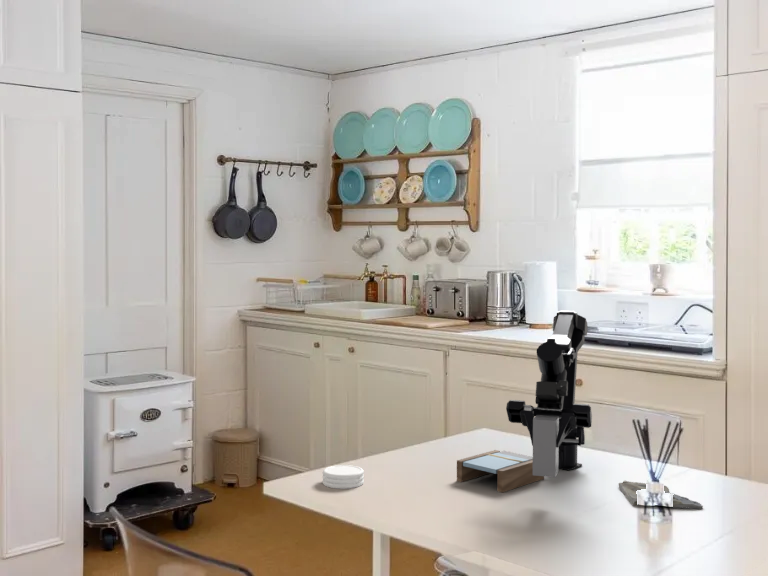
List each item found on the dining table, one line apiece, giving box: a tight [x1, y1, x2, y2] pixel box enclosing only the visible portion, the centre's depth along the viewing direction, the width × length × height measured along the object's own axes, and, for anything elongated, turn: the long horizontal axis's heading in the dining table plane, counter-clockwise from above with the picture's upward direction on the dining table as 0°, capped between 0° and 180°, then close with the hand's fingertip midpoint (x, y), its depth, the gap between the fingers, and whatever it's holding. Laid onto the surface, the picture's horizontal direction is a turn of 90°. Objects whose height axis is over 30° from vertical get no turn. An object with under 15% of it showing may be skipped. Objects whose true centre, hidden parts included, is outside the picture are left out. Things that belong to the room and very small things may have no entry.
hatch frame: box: [456, 449, 545, 493], centre depth 220 cm, size 14×16×5 cm
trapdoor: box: [463, 450, 533, 475], centre depth 220 cm, size 10×16×3 cm, turn 135°
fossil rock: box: [618, 480, 704, 510], centre depth 206 cm, size 18×15×2 cm
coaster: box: [321, 464, 365, 490], centre depth 218 cm, size 10×10×4 cm
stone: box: [532, 415, 559, 478], centre depth 201 cm, size 5×5×12 cm
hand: (544, 445), depth 199 cm, fingers closed on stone, 5 cm apart
